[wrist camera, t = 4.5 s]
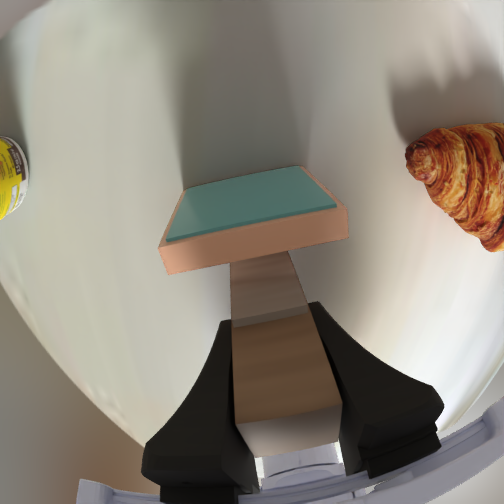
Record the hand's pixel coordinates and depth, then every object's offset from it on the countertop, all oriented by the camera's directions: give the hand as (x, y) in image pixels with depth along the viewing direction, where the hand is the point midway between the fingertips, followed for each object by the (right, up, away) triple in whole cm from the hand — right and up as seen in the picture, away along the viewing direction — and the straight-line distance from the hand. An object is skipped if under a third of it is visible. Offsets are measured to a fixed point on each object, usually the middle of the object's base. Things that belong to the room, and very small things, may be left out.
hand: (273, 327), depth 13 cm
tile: (-1, +7, +4) cm, 8 cm away
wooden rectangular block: (0, +2, +3) cm, 4 cm away
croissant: (+18, +9, +5) cm, 21 cm away
